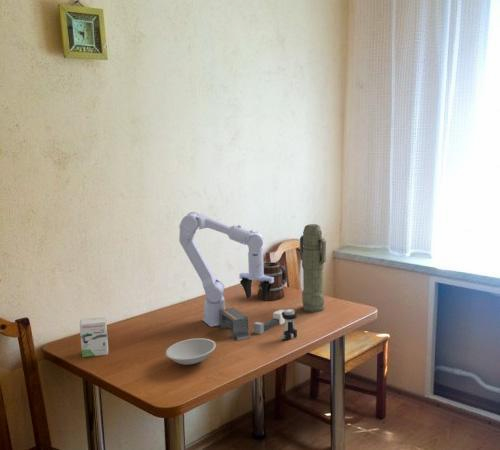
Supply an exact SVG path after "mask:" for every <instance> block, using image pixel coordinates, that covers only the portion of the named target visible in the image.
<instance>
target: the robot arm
mask: <svg viewBox="0 0 500 450" xmlns="http://www.w3.org/2000/svg"><path fill="white" fill-rule="evenodd" d="M178 228H179V239H178V240H179V243H180V245H181V247H182V249H183V251H184V252H185V255H186V256H187V257H188V260H189V261H190V262H191V265H192V267H193V269H194V270H195V271H196V273H197V275H198V277H199V278H200V281H201V283H202V288H203V290H204V293H205V300H204V302H203V318H201V319H202V321H203V322H204V323H205V324H207V325H208V326H209V327H210V328H211V327H212V328H213V327H218V326H219V310H220V309H226V300H225V299H226V298H225V297H224V295H223V294H224V292H225V285H224V284H223V282H222V281H220V280H219V279H218V277H217V276H216V275H215V274H213V271H212V270H211V268H210V266H209V264H208V262H207V260H206V259H205V257H204V256H203V254H202V252H201V250H200V249H199V246H198V245H197V243H196V241H195V240H194V238H195V234H196V232H197V230H203V229H210V230H213V231H216V232H220V233H222V234H225V235H227V236H228V238H229V240H232V241H235V242H237V243H239V244H240V245H241V244H242V245H244V246H247V247H248V253H247V256H248V257H247V258H248V260H247V261H248V272H241V273H239V274H238V275H239V279H240V280H239V282H240V284H241V286H242V288H243V290H244V294H245V296H246V298H247V299H249V298H251V297H252V283H253V281H257V282H260V281H263V282H264V283H262V284H261V287H262V291H263V299H262V301H264V302H266V301H269V300H268V295H269V291H270V289H271V286H272V284H273V282H274V277H270V276H267V275H264V265H263V263H264V247H263V244H264V237H263V236H262V233H260V232H259V231H254V230H253V229H250V230H249V229H246V228H245V227H242V224H238V225H236V224H234V225H231V226H230V225H228V224H227V223H226V224H225V223H223V222H221V221H219V220H217V219H214V218H212V217H210V216H207V215H205V214H203V213H197V212H195V211H190V212H189V213H188V214H186V215H185V216H184V217H182V219H181V221H180V223H179V227H178Z"/></svg>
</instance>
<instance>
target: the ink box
mask: <svg viewBox="0 0 500 450" xmlns="http://www.w3.org/2000/svg"><path fill="white" fill-rule="evenodd" d="M107 327H108V325H107V317H105V316H102V317H90V318H82V319H80V321H79V335H80V345H81V355H82V356H81V358H89V357H98V356H107V355H109V340H108V339H109V337H108V328H107Z"/></svg>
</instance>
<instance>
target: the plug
mask: <svg viewBox="0 0 500 450" xmlns="http://www.w3.org/2000/svg"><path fill="white" fill-rule="evenodd" d="M284 310H285V309H278V310H276V311H274V312H273V313H272V316H273V317H272V319H270V320H267V321H266V322H264V323H263V322H260V321H256V322H254V323H253V333H254V334H258V335H262V334H264V333H265V332H266V331H268V330H270V329H272V328H274V327H277V326H278V325H283V324H285V319H284V318H283V316H282V312H284Z"/></svg>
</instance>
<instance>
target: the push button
mask: <svg viewBox="0 0 500 450" xmlns="http://www.w3.org/2000/svg"><path fill="white" fill-rule="evenodd" d="M283 310H284V312H282V316H283V318H284V319H285V323H284V331H283V332H282V335H281V336H280V337H281V338H280V339H281V340H286V341H287V340H290V339H291V340H292V339H294V338H297V337H298V330H297V329H296V328H295V319H297V316H298V314H297V311H295V310H294V309H292V308H287V309H283Z"/></svg>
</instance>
